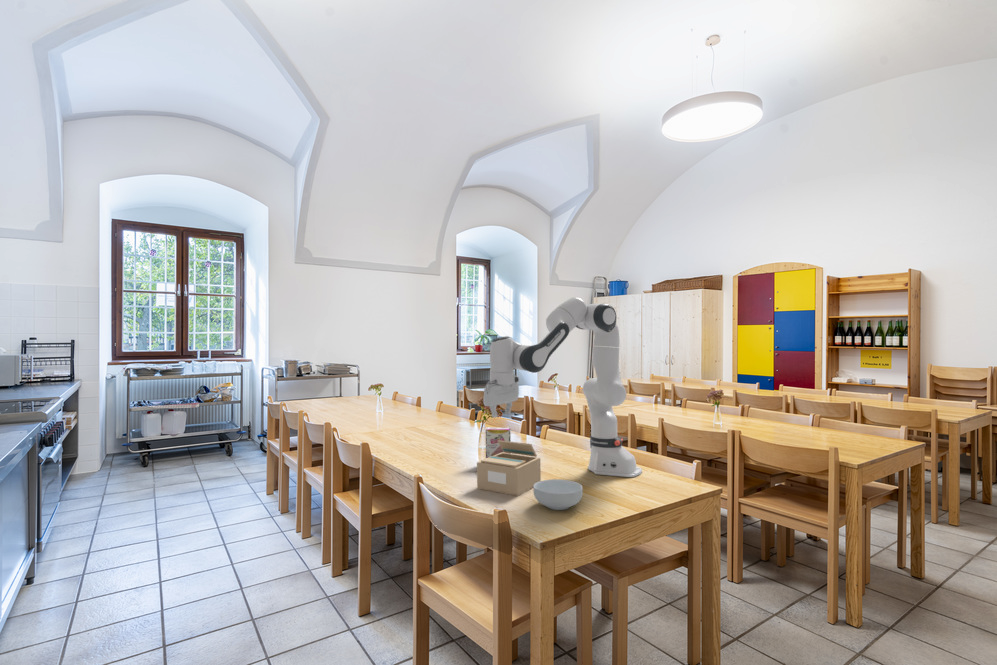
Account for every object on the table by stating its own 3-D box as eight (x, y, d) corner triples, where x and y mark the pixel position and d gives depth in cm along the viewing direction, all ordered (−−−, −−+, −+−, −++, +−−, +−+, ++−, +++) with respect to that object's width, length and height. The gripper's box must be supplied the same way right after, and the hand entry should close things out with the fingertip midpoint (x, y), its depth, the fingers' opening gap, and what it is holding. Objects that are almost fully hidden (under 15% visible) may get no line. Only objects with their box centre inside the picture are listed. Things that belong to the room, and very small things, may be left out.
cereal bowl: (592, 505, 173) (592, 484, 173) (564, 519, 160) (564, 497, 160) (552, 494, 184) (551, 475, 184) (523, 507, 172) (523, 486, 171)
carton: (540, 483, 198) (540, 457, 198) (517, 496, 183) (517, 468, 183) (501, 476, 208) (501, 452, 208) (477, 488, 192) (476, 462, 192)
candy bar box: (485, 465, 224) (485, 429, 224) (486, 463, 229) (486, 427, 229) (510, 466, 223) (510, 429, 223) (511, 463, 228) (510, 427, 228)
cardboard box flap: (536, 457, 198) (537, 455, 199) (530, 445, 194) (531, 444, 195) (503, 452, 206) (504, 451, 207) (497, 441, 202) (498, 440, 203)
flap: (481, 461, 192) (481, 460, 192) (492, 457, 199) (492, 455, 199) (515, 467, 184) (515, 465, 184) (525, 462, 191) (525, 460, 191)
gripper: (493, 381, 181) (493, 420, 181) (521, 377, 198) (521, 412, 198) (479, 381, 184) (479, 418, 184) (507, 376, 201) (507, 411, 201)
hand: (501, 415), depth 191 cm, fingers open, 8 cm apart
